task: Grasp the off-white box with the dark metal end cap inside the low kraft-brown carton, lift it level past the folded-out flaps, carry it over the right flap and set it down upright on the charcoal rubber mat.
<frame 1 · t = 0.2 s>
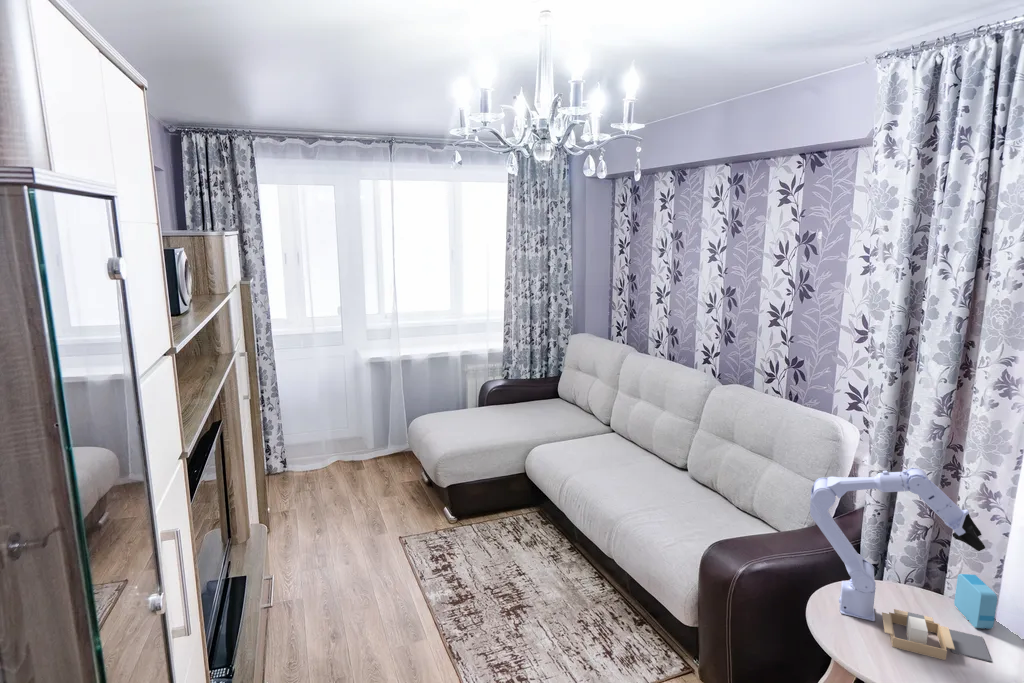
hand: (980, 542, 172), 31 cm above the table, tool tilted 45°, fingers open, 7 cm apart
capped box: (916, 630, 177), in the carton
carton: (915, 639, 178), on the table
mat: (967, 645, 175), on the table
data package: (972, 618, 187), on the table
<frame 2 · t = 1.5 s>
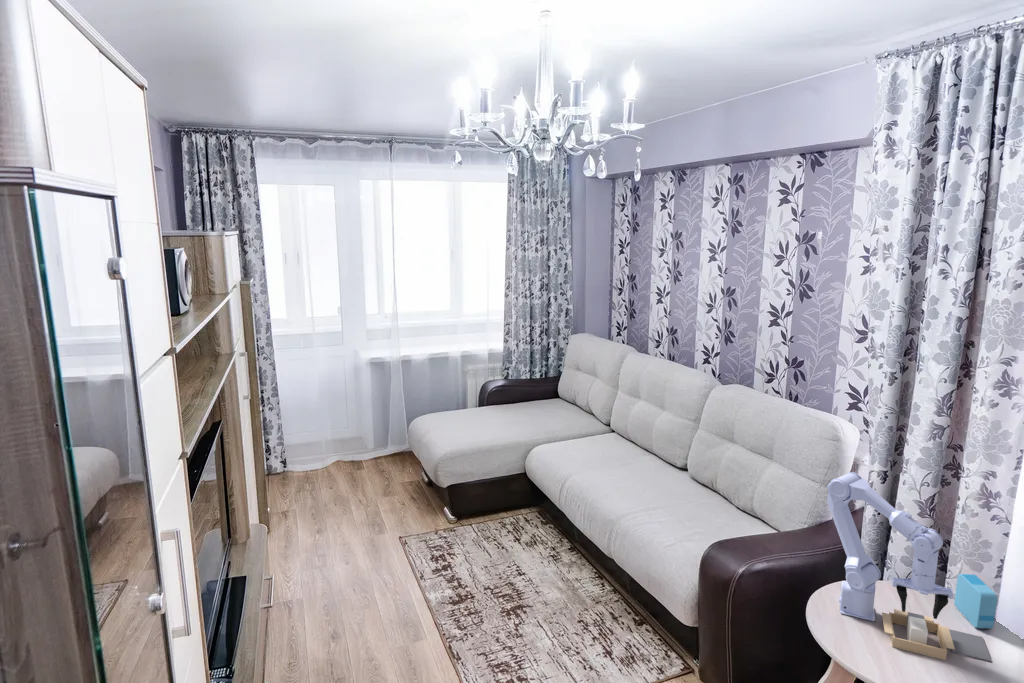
hand: (918, 613, 176), 9 cm above the table, tool pointing down, fingers open, 7 cm apart
nothing on the table moved.
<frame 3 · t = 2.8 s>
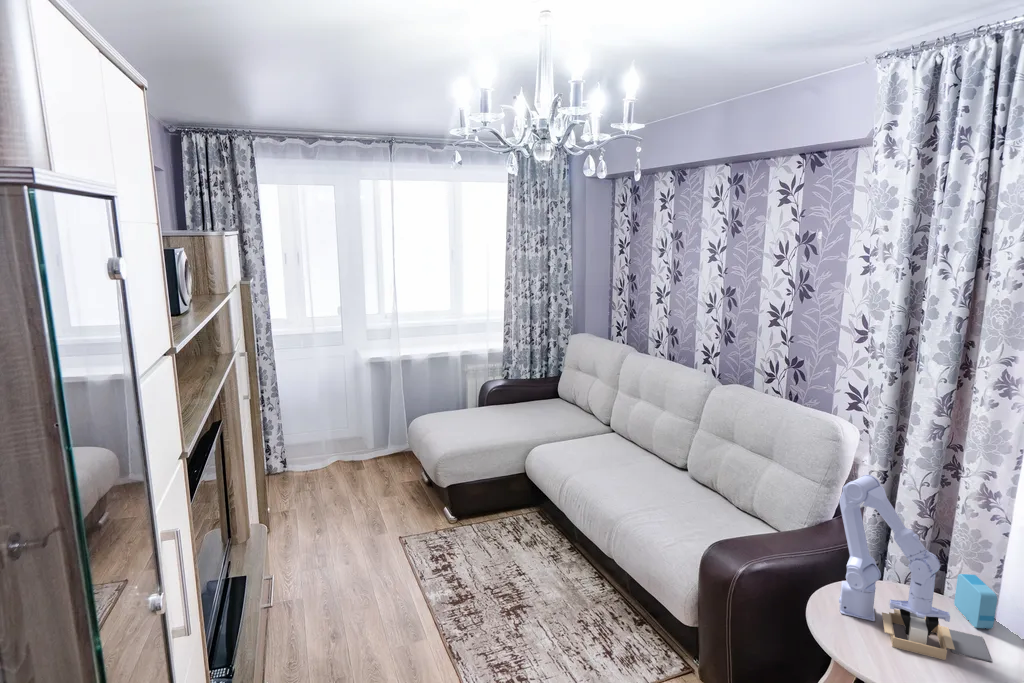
hand: (916, 635, 178), 1 cm above the table, tool pointing down, fingers closed on capped box, 4 cm apart
capped box: (916, 630, 177), in the carton, touching gripper
everything else where it was.
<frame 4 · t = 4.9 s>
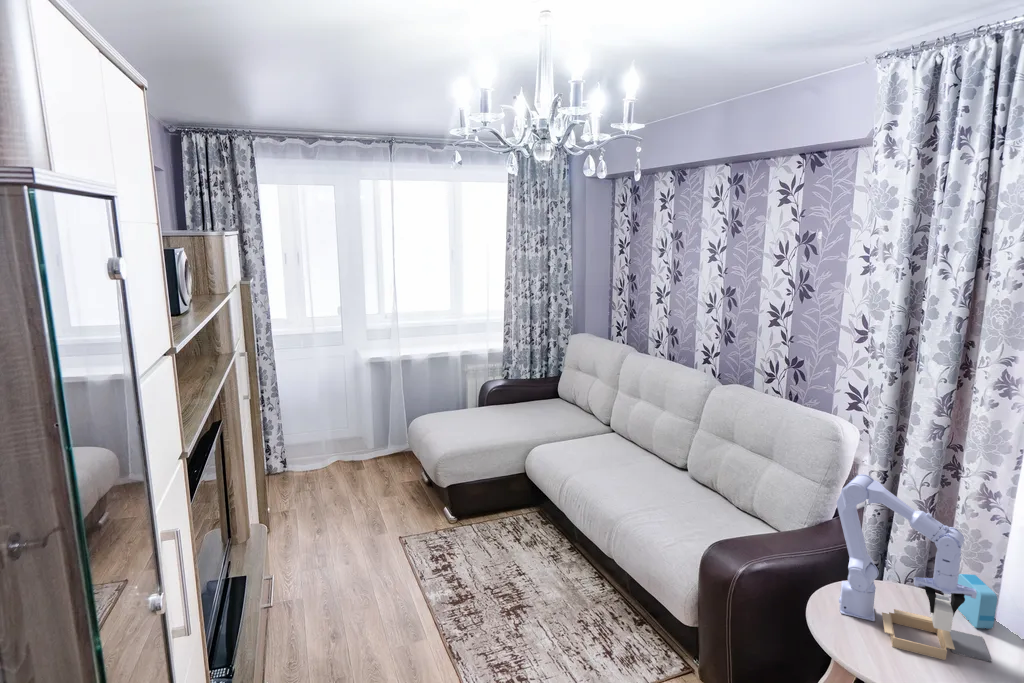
hand: (941, 613, 175), 10 cm above the table, tool pointing down, fingers closed on capped box, 4 cm apart
capped box: (941, 612, 175), point 10 cm above the table, touching gripper
everything else where it was.
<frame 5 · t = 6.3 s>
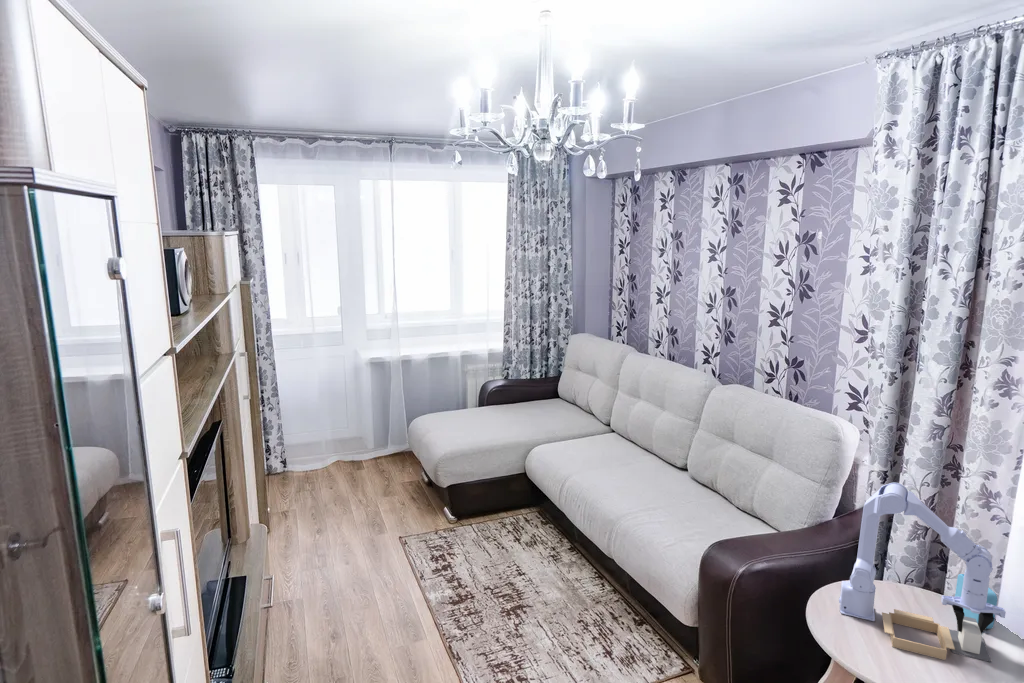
hand: (969, 631, 174), 4 cm above the table, tool pointing down, fingers closed on capped box, 4 cm apart
capped box: (969, 634, 174), point 4 cm above the table, touching gripper
everything else where it was.
when the fingers open (3 cm above the table, at t = 7.1 s): capped box stays where it is, resting on mat.
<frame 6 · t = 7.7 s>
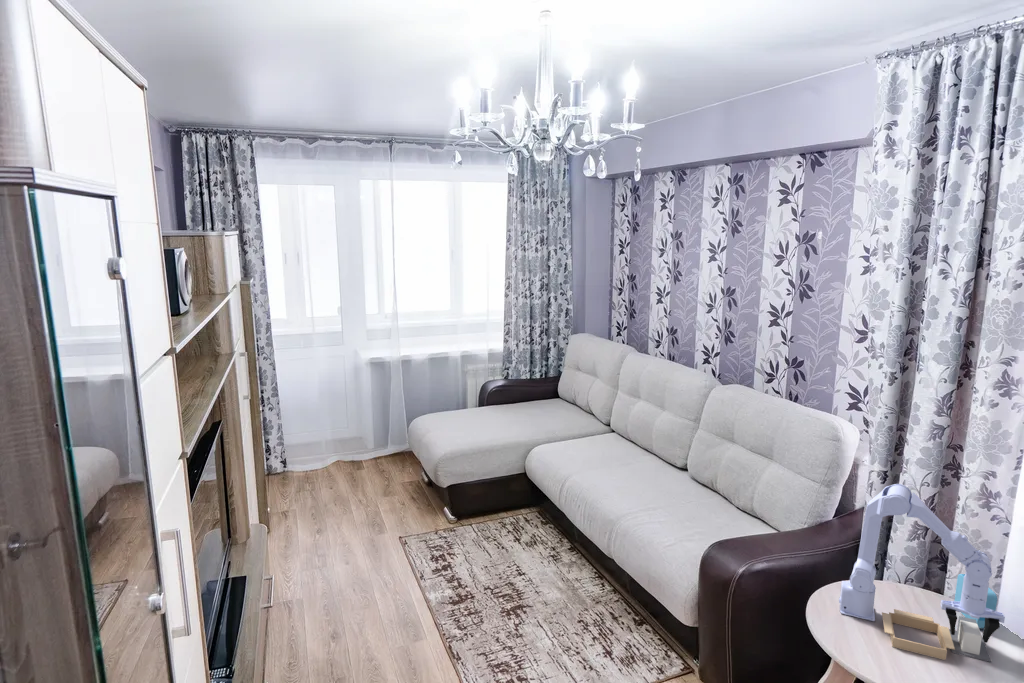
hand: (968, 636, 175), 3 cm above the table, tool pointing down, fingers open, 7 cm apart
capped box: (968, 635, 174), on the mat
everything else where it was.
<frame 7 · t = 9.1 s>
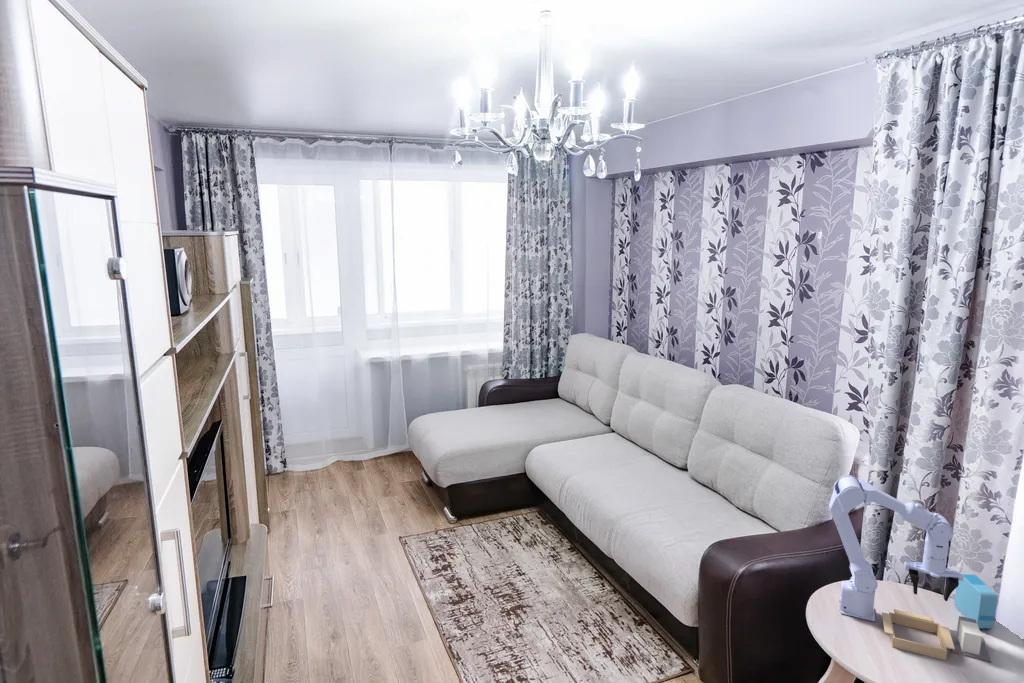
hand: (930, 595, 183), 9 cm above the table, tool pointing down, fingers open, 7 cm apart
nothing on the table moved.
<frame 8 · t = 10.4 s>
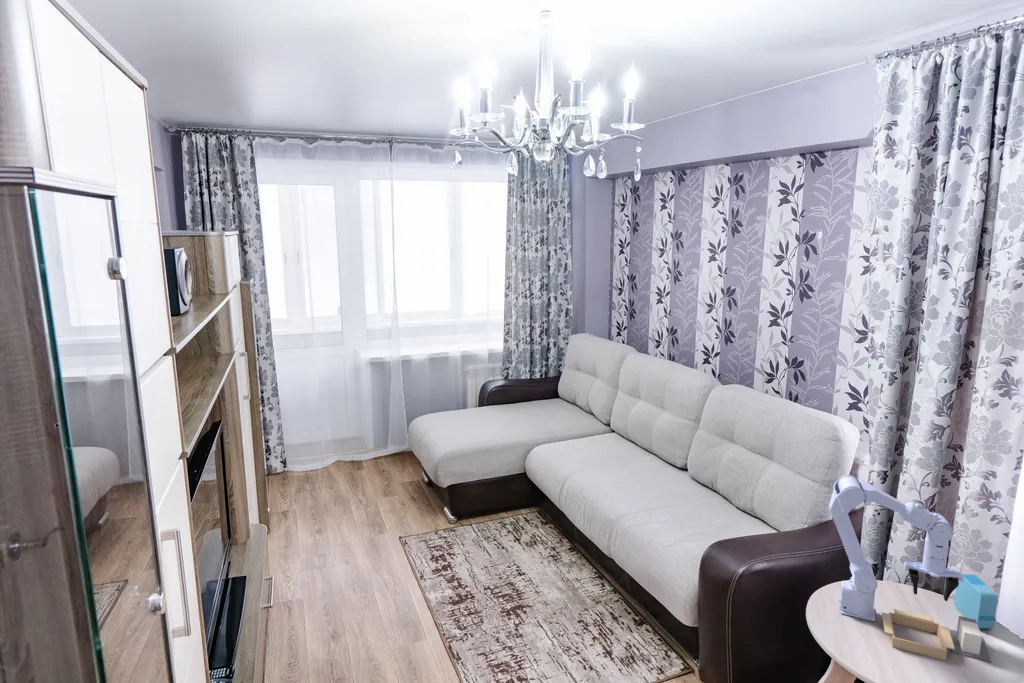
hand: (930, 595, 183), 9 cm above the table, tool pointing down, fingers open, 7 cm apart
nothing on the table moved.
at the end: capped box inside the target area on the mat (0.1 cm from its centre), point 3.4 cm above the mat's base; capped box tilted 0°; the gripper is holding nothing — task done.
